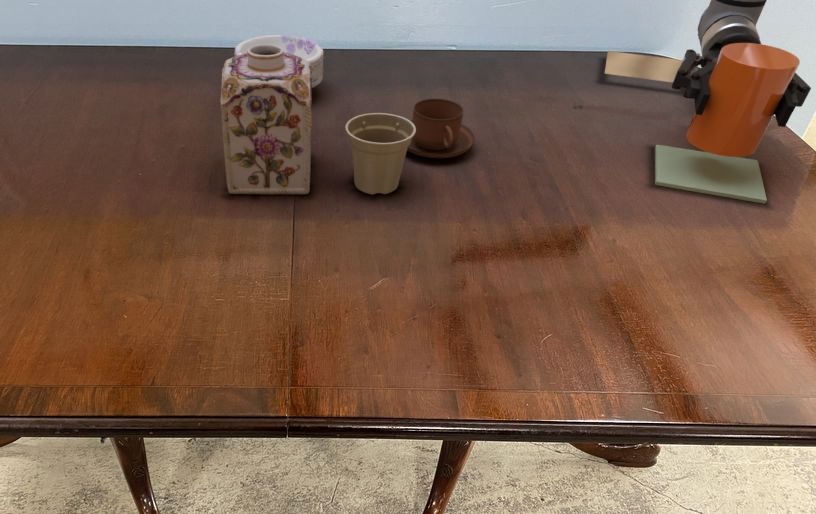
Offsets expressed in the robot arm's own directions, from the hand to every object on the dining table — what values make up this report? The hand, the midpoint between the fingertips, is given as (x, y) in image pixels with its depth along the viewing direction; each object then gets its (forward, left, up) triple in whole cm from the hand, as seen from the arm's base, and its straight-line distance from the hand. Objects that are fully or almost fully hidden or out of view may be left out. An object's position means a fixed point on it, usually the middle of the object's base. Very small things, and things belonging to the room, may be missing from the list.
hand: (744, 110), depth 86 cm
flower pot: (+44, +15, -12) cm, 48 cm away
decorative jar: (+59, +18, -12) cm, 63 cm away
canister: (0, -5, -6) cm, 8 cm away
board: (+9, -41, -12) cm, 43 cm away
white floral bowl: (+69, -9, -12) cm, 70 cm away
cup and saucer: (+39, +1, -12) cm, 41 cm away
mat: (0, -5, -12) cm, 12 cm away
